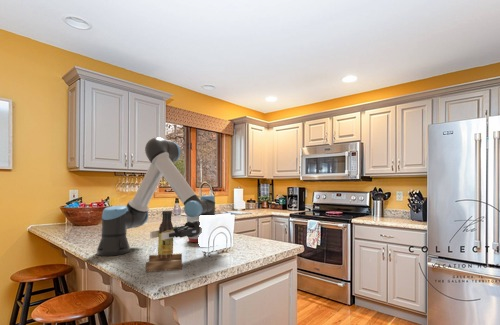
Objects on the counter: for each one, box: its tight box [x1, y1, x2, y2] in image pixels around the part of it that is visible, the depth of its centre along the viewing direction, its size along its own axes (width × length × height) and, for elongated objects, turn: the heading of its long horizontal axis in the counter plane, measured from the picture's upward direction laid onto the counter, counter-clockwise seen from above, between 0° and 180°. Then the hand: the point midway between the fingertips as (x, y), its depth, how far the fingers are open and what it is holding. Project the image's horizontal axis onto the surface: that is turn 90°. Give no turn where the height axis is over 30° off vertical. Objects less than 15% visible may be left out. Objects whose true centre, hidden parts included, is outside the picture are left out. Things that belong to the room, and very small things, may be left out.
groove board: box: [145, 252, 183, 273], centre depth 122 cm, size 14×13×3 cm
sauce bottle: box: [157, 210, 174, 259], centre depth 123 cm, size 7×6×20 cm
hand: (156, 235), depth 118 cm, fingers closed on sauce bottle, 6 cm apart
